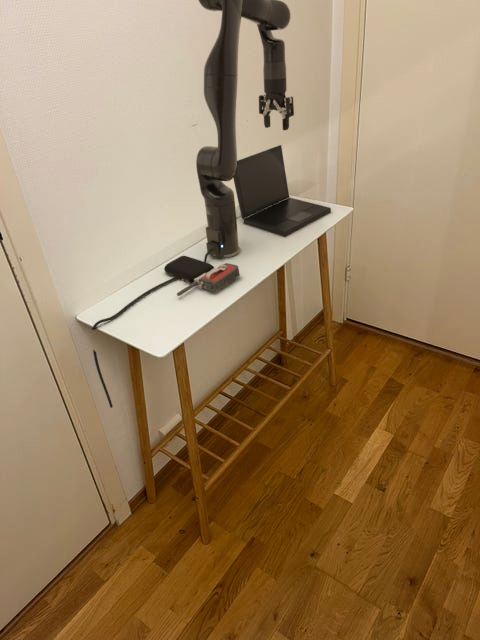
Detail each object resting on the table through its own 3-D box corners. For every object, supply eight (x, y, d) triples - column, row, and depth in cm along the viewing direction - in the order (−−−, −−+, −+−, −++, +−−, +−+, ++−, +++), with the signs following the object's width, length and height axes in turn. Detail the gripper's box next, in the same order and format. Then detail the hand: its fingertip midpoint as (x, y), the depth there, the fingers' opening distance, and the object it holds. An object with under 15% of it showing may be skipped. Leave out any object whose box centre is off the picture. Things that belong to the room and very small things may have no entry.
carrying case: (159, 275, 138) (193, 288, 130) (157, 266, 137) (192, 279, 129) (184, 261, 145) (217, 272, 137) (182, 252, 143) (216, 263, 135)
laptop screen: (281, 144, 169) (279, 145, 170) (231, 163, 155) (230, 163, 156) (289, 197, 179) (287, 197, 179) (243, 218, 165) (241, 218, 165)
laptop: (330, 212, 167) (330, 207, 166) (284, 236, 153) (284, 231, 152) (289, 201, 180) (289, 197, 179) (243, 223, 166) (243, 218, 165)
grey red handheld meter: (222, 268, 138) (175, 298, 126) (219, 255, 136) (172, 284, 124) (244, 273, 133) (197, 305, 121) (242, 260, 131) (194, 290, 119)
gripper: (251, 77, 151) (254, 128, 160) (283, 79, 142) (284, 133, 151) (267, 74, 155) (269, 124, 164) (298, 75, 146) (299, 128, 155)
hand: (276, 128), depth 158 cm, fingers open, 8 cm apart
